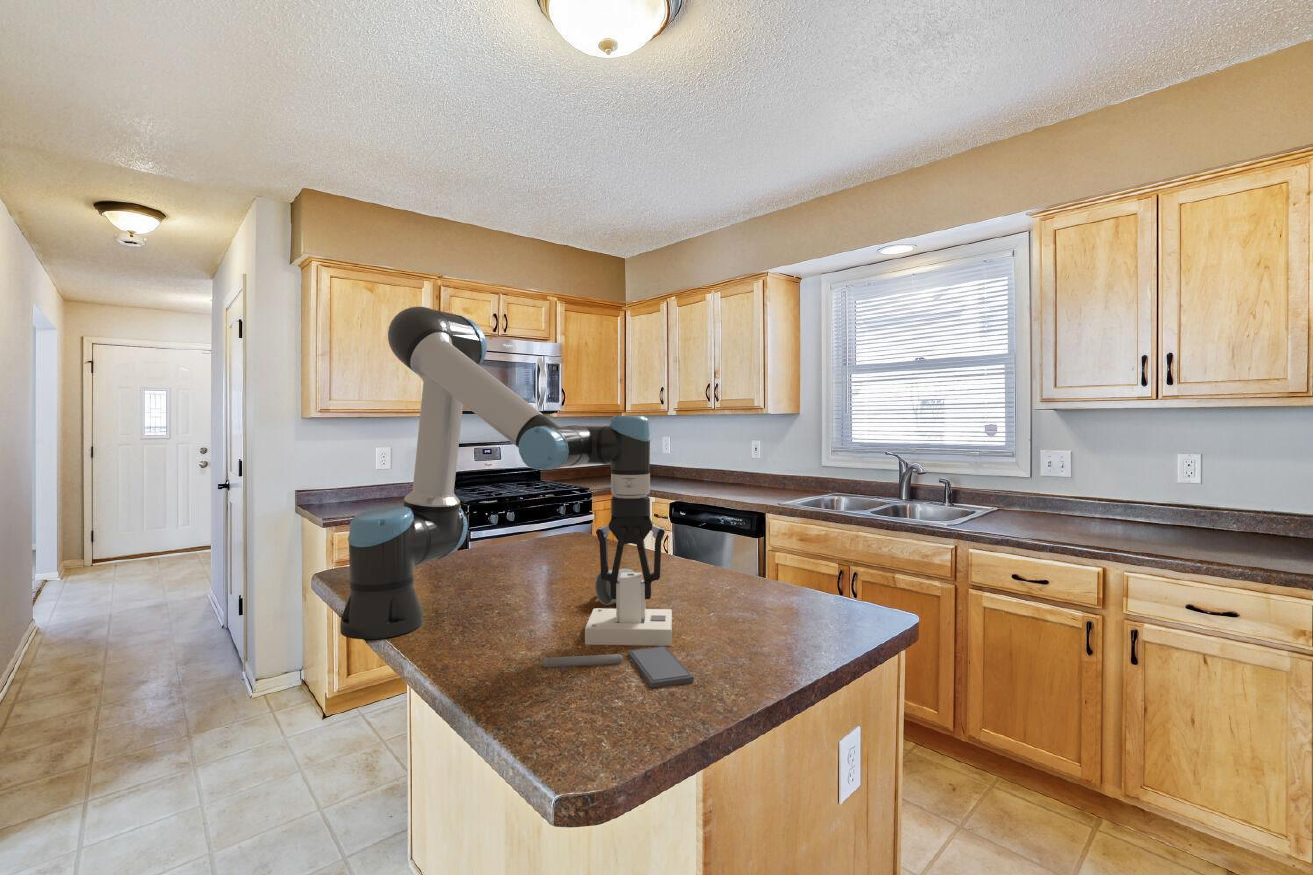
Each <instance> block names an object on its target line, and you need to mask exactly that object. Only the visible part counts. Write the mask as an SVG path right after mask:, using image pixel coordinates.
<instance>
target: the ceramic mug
mask: <svg viewBox="0 0 1313 875" xmlns="http://www.w3.org/2000/svg"><path fill="white" fill-rule="evenodd" d="M608 571H609V573H612V569H608ZM622 572H636V571H634V570H633V569H630V568H620V569H619V574H618V578H617V581H618V580H620V575H621V573H622ZM595 578H596V579H595V586H594V587H595V594H596V597H597V598H598V601H599V602H600V603H601V604H602V605H604V606H612V605H615V604H616V599H611V584H610V582H609V581H607V580H603V579H602V578H601V571H600V572H599V573H598V574H597V575H596V577H595Z"/></svg>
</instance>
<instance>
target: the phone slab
mask: <svg viewBox="0 0 1313 875" xmlns="http://www.w3.org/2000/svg"><path fill="white" fill-rule="evenodd" d="M627 656H628V657H629V659H631V661H632V663H633V664H634V665H635V667H636V668H637V670H638V671H639V672H640V674H641V675H642V677H643V678H644V680H645V681H646V682H647V684H648V685H649V687H650V688H651V689H654V688H662V687H666V686H667V687H668V686H675V685H682V684H689V683H694V680H695V678H694V676H693V674H691V672H690V671H689V670H688V669H687V667H685V666H684V665H683V663H681V662H680V660H679V659H678V658H677V657H676V656H675V654H673V653H672V652H671V651H670V650H669V648H668V646H654V647H645V648H636V649H628V650H627Z"/></svg>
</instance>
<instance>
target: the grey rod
mask: <svg viewBox="0 0 1313 875" xmlns="http://www.w3.org/2000/svg"><path fill="white" fill-rule="evenodd" d="M623 660H624V659H623V656H622V654H620V653H617V654H616V653H612V654H596V655H595V654H594V655H593V654H592V655H578V656H577V655H575V656H574V655H573V656H557V657H556V656H555V657H545V658H544V659H543V660H542V666H543V667H544V668H547V669H548V668H565V667H582V666H599V665H601V666H603V665H618V664H621V663H623Z"/></svg>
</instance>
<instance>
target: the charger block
mask: <svg viewBox="0 0 1313 875" xmlns="http://www.w3.org/2000/svg"><path fill="white" fill-rule="evenodd" d="M642 577H643V572H636V571H635V572H622V573H621V575H620V623H641V620H642V618H641V581H642V580H643V578H642Z"/></svg>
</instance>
